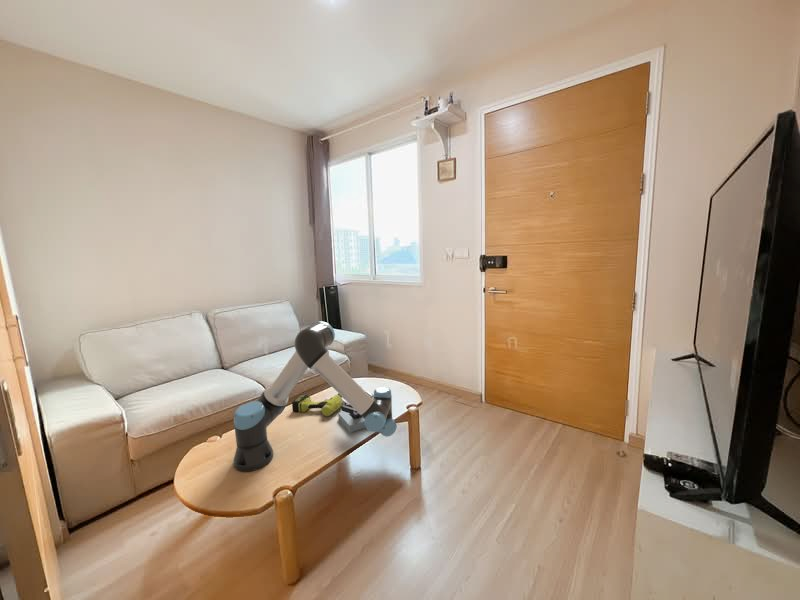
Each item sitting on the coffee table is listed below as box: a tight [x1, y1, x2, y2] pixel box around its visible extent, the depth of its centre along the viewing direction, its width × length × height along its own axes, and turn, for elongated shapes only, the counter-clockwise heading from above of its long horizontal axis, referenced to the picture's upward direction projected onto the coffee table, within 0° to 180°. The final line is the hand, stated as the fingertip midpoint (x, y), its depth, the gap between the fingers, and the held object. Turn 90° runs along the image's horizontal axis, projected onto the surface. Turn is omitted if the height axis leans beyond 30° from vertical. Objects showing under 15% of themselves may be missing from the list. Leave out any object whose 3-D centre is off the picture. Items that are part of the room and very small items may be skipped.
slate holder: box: [338, 411, 367, 433], centre depth 166 cm, size 15×15×4 cm
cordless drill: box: [291, 392, 344, 417], centre depth 184 cm, size 7×25×25 cm
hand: (354, 396), depth 167 cm, fingers open, 13 cm apart
